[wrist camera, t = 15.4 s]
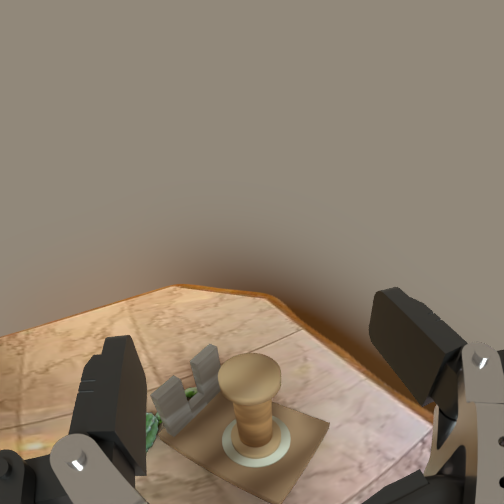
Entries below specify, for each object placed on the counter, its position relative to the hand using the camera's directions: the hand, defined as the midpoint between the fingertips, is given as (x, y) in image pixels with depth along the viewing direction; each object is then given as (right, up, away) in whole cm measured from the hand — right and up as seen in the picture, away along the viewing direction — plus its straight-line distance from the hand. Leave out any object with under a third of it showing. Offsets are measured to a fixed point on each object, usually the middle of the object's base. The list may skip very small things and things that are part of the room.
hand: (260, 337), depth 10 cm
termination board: (-1, -21, +26) cm, 34 cm away
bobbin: (0, -20, +24) cm, 31 cm away
